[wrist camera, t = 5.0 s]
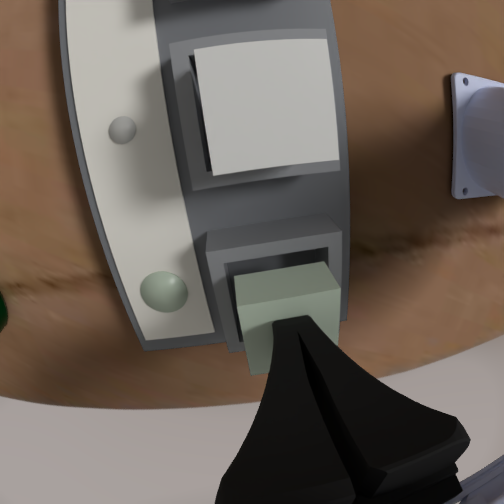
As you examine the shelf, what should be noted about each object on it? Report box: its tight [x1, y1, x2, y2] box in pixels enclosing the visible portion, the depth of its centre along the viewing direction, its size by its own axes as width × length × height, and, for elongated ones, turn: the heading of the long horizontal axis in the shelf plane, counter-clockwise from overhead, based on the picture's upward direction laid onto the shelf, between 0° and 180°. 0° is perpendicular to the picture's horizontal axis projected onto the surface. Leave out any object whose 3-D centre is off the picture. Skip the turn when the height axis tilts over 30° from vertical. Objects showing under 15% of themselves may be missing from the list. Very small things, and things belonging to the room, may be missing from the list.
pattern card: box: [66, 0, 215, 340], centre depth 11 cm, size 4×22×1 cm, turn 7°
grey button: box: [194, 39, 339, 176], centre depth 8 cm, size 4×4×2 cm
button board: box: [58, 0, 350, 353], centre depth 12 cm, size 12×24×4 cm, turn 7°
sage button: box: [234, 261, 341, 376], centre depth 12 cm, size 4×4×2 cm
